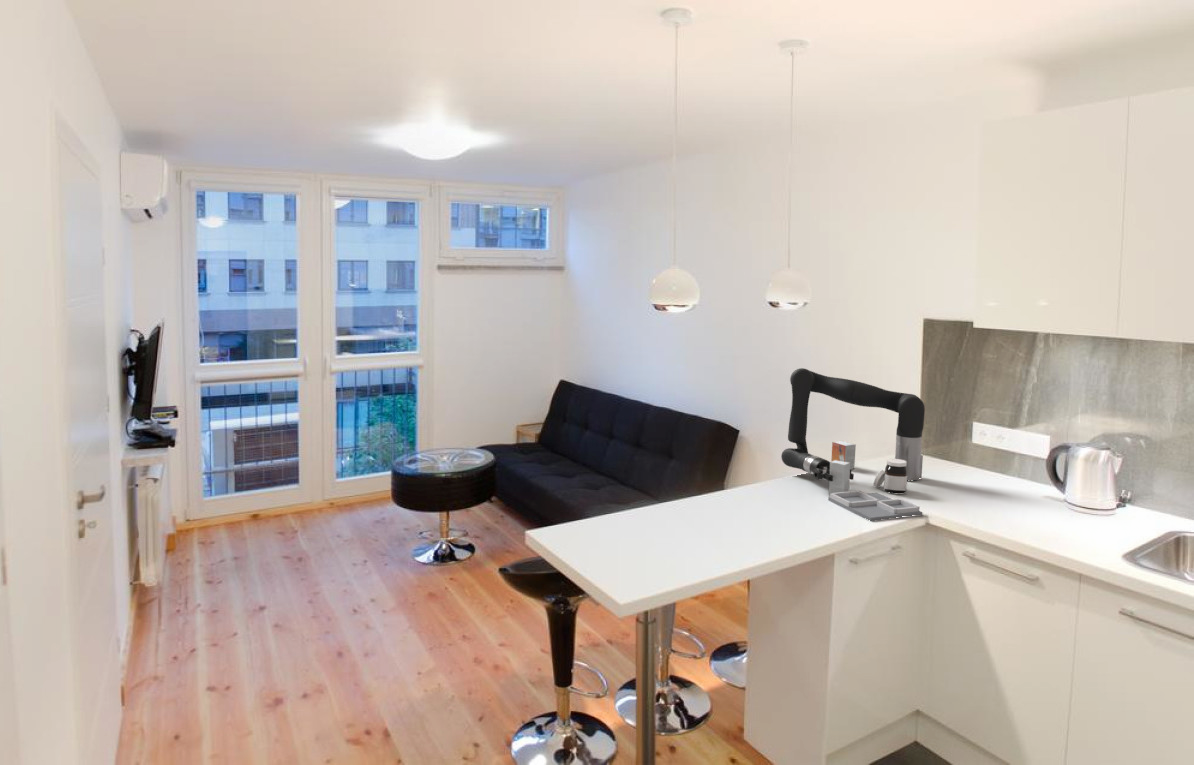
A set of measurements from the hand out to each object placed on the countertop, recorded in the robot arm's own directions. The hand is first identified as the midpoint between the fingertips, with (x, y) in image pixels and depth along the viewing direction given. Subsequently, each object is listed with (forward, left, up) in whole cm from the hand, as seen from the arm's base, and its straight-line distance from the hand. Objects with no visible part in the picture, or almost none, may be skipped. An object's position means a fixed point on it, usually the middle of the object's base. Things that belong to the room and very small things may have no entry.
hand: (842, 477), depth 267 cm
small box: (-24, -35, -7) cm, 43 cm away
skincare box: (0, -2, -7) cm, 7 cm away
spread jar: (-21, -1, -7) cm, 22 cm away
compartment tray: (-2, +16, -7) cm, 17 cm away
